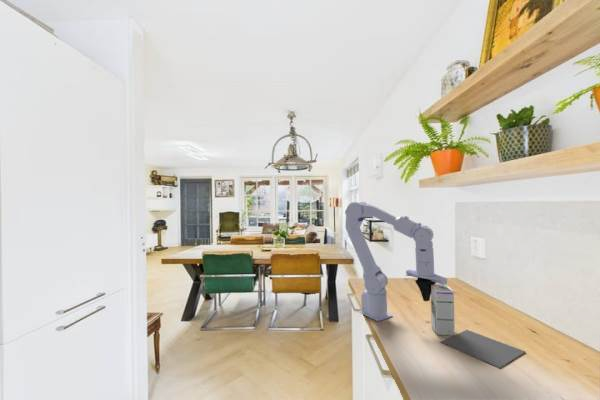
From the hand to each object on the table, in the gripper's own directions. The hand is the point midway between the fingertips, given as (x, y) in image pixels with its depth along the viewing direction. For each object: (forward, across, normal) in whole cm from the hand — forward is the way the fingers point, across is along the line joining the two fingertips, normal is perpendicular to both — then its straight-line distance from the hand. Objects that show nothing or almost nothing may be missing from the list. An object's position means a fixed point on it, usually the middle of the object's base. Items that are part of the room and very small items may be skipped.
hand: (426, 300), depth 95 cm
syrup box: (+9, -5, 0) cm, 10 cm away
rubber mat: (+9, -17, 0) cm, 19 cm away
